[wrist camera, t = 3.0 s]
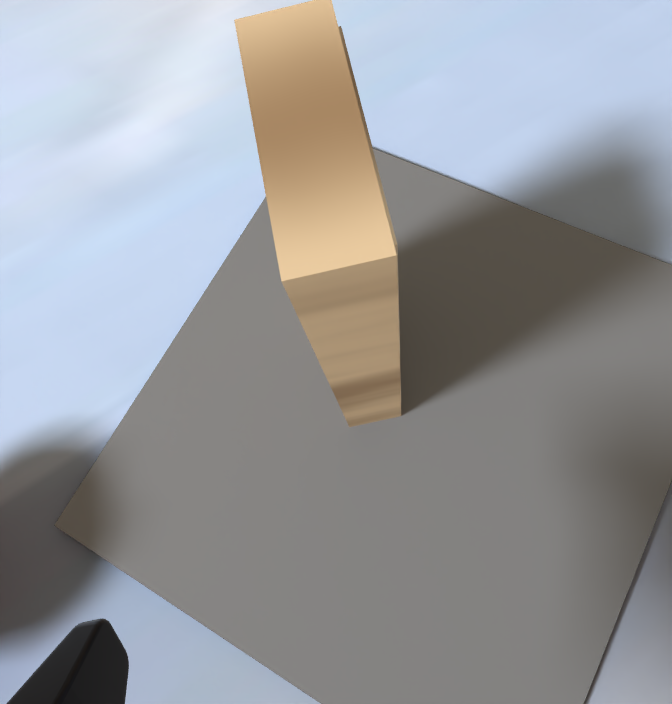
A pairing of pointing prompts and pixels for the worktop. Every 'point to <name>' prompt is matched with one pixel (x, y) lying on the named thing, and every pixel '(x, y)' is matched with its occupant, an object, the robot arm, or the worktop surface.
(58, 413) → the worktop surface
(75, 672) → the robot arm
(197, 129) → the worktop surface
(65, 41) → the worktop surface
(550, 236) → the mat
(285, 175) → the board
